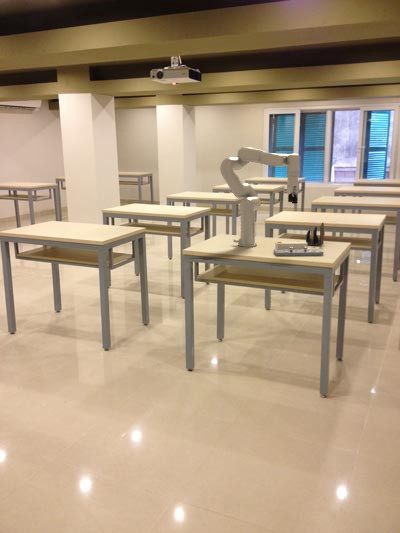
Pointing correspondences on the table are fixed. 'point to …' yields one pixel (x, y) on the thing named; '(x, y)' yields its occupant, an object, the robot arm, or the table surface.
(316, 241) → the letter holder
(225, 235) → the table surface
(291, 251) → the mounting plate
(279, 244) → the power strip
